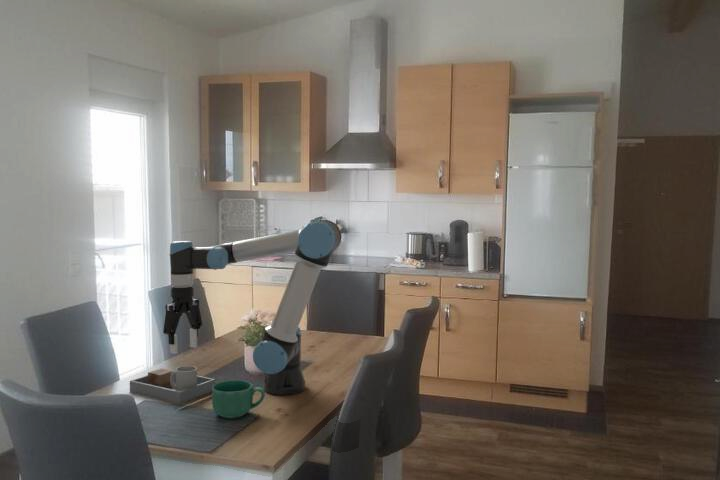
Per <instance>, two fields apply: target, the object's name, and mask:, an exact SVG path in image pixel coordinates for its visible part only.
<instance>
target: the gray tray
mask: <svg viewBox="0 0 720 480" xmlns="http://www.w3.org/2000/svg"><path fill="white" fill-rule="evenodd" d="M166 370H169V369H168V368H166ZM170 370H171V371H174V370H173V369H170ZM174 379H175V384H176V375H175V378H174ZM215 384H216V379H215V378H210V377H207V376H201V375H197V385H196V386H193V387H190V388H188V389H185V390H182V391H176V389H174V388H169V389H167V388H163V387H159V386H154V385H150V384H148V374H147V375H144V376H141V377H137V378H134V379H132V380H129V393H132V394H137V395H141V396H145V397H150V398H154V399H157V400H161V401H167V402H171V403H174V404H178V405H181V404H183V403H186V402H188V401H191V400H194V399H196V398H199V397H202V396H204V395H206V394H209V393H212V387H213V385H215Z"/></svg>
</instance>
